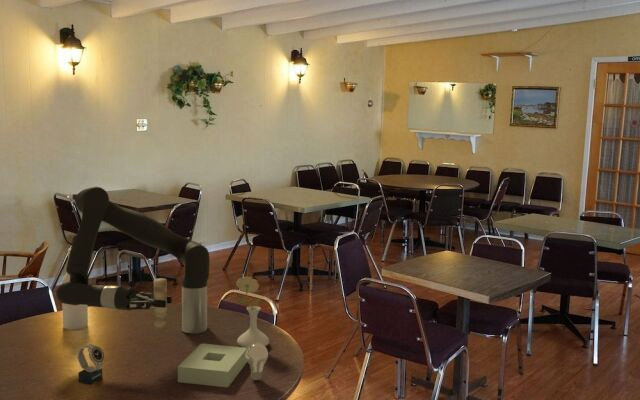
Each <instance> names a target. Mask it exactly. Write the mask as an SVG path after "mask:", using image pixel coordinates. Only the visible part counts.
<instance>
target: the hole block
mask: <svg viewBox="0 0 640 400" xmlns="http://www.w3.org/2000/svg"><path fill="white" fill-rule="evenodd" d="M246 350H247V348H244V347H241V346H232V345H231V346H230V345H224V344H223V345H221V344H212V343H211V344H210V343H200V344H199V345H197V347H196V348H195V349H194V350H193V351H191V353H190V354H189V355H188V356H187V357H185V359H184V360H182V362H181V363H180V364H179V365H178V366H177V382H178V383H181V384H182V383H183V384H193V385H202V386H211V387H219V388H221V387H222V388H229V387H230V385H231V384H232V383H233V381H234V380H235V379H236V377H238V375H239V374H240V372H241V371H242V369H243V368H244V367H245V366H246V364H247V363H248V362H247V360H246Z"/></svg>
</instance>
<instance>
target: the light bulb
mask: <svg viewBox="0 0 640 400" xmlns="http://www.w3.org/2000/svg"><path fill="white" fill-rule="evenodd" d="M268 358H269V351H268V348H267V346H264V345H263V344H261V343H254V344H251V345H250V346H249V347H248V348H247V350H246V360H247V363H248V364H249V368H250V373H251V374H250V378H251V379H252V380H253V381H255V382H258V381H260V380H261V379H262V377H263V369H264V365H265V364H266V362H267V360H268Z"/></svg>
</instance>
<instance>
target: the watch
mask: <svg viewBox="0 0 640 400" xmlns="http://www.w3.org/2000/svg"><path fill="white" fill-rule="evenodd" d="M85 349H87V352H88V358H89V360H90V361H91V362H92V363H93V364H94V366H92V365H90V366H89V363H88V361H87V359H86V356H85V354H84V350H85ZM104 359H105V353H104V351H103V349H102V348H101V347H99V346H97V345H95V344H89V343H88V344H86V345H84V346H82V347H80V348H79V350H77V360H78V364H79V365H80V367H81V368H82V370H81V371H79V372H77V375H78V378H77V379H78V383H80V384H84V385H88V386H90V385H93V384H95V383H96V382H99V381H100V380H101V379H103V368H102V366H103V363H104Z"/></svg>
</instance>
